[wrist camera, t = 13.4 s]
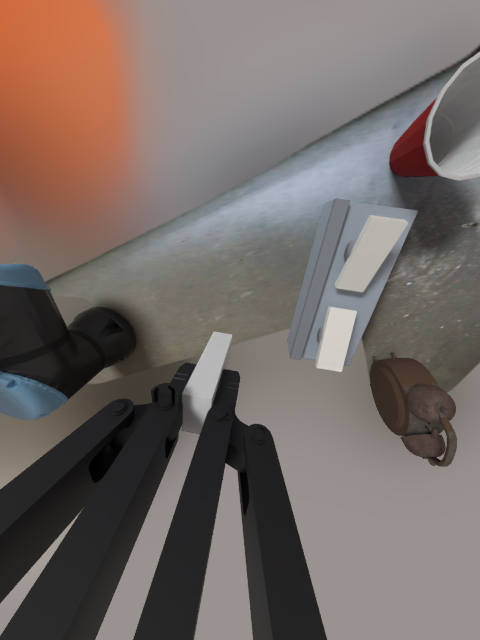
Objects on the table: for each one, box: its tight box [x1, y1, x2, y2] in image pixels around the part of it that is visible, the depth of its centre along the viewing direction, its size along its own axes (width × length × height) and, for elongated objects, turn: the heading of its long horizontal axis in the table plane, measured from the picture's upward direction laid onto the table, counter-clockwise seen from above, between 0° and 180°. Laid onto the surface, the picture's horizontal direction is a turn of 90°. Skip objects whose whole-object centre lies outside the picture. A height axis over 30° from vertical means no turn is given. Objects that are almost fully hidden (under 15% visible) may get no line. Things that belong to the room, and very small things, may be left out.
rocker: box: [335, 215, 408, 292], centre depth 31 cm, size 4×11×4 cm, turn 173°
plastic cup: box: [390, 52, 480, 181], centre depth 26 cm, size 11×11×12 cm
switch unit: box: [287, 199, 418, 366], centre depth 38 cm, size 12×28×7 cm, turn 173°
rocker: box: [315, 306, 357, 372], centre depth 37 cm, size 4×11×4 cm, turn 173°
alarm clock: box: [370, 353, 457, 466], centre depth 38 cm, size 15×7×20 cm, turn 11°
